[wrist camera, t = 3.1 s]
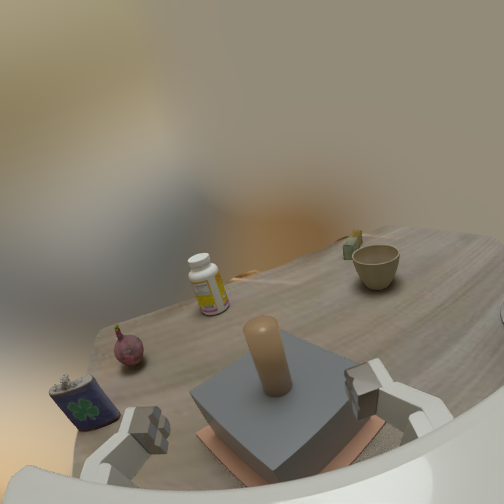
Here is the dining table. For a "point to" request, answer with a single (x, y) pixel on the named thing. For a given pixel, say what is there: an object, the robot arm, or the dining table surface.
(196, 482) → the dining table surface
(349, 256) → the medication box
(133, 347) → the vegetable
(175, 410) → the dining table surface
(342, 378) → the cover
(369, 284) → the flower pot
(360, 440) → the mat
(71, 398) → the flask
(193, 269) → the supplement bottle
